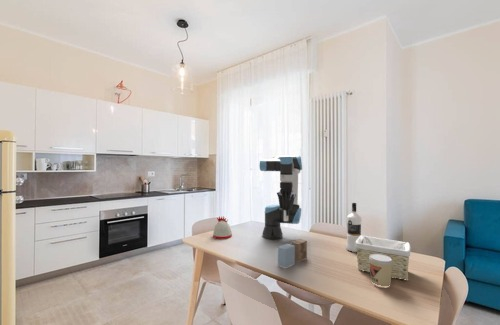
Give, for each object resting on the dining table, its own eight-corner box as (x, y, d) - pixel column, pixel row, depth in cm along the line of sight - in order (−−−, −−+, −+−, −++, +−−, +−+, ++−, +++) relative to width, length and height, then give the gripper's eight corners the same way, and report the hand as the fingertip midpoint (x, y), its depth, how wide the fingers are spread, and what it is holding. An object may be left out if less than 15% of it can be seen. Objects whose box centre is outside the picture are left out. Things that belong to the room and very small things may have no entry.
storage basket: (354, 270, 122) (354, 241, 122) (360, 260, 136) (360, 234, 136) (410, 284, 109) (410, 251, 109) (410, 271, 122) (410, 242, 122)
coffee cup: (364, 279, 113) (365, 253, 113) (383, 278, 113) (383, 253, 113) (377, 289, 103) (377, 261, 103) (397, 288, 104) (397, 261, 104)
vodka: (365, 251, 148) (365, 203, 148) (353, 253, 145) (353, 204, 145) (354, 247, 157) (354, 201, 157) (342, 248, 153) (343, 202, 154)
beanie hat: (216, 233, 186) (216, 213, 186) (233, 233, 184) (233, 214, 184) (210, 238, 172) (211, 217, 172) (229, 239, 170) (229, 218, 171)
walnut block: (299, 255, 141) (299, 238, 141) (306, 258, 137) (306, 240, 138) (291, 259, 135) (291, 241, 136) (298, 262, 132) (298, 244, 132)
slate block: (287, 261, 133) (287, 243, 133) (294, 264, 129) (294, 245, 129) (277, 265, 127) (278, 246, 127) (285, 268, 124) (285, 249, 124)
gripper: (273, 181, 146) (273, 219, 145) (291, 182, 136) (291, 223, 136) (281, 180, 151) (281, 218, 151) (298, 182, 141) (298, 221, 141)
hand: (285, 220), depth 143 cm, fingers closed
